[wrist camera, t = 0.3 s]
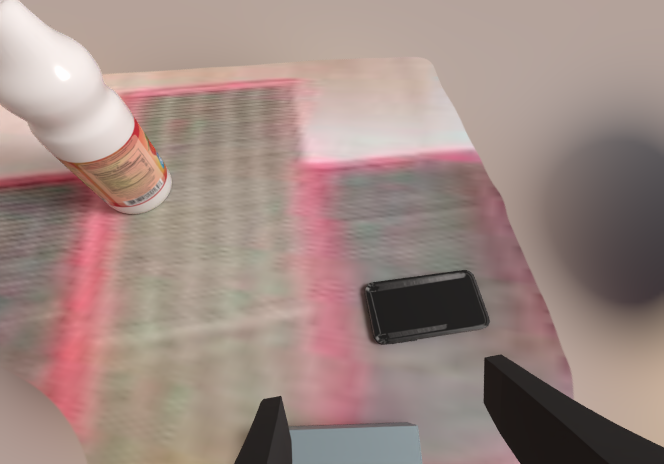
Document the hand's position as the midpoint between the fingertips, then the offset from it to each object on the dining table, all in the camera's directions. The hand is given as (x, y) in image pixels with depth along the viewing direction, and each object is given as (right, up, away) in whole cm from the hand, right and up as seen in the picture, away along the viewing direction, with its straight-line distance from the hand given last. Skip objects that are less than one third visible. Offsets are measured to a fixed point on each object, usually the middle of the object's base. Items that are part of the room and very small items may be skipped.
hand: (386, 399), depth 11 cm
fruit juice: (-30, +12, +37) cm, 49 cm away
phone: (+10, -4, +32) cm, 34 cm away
